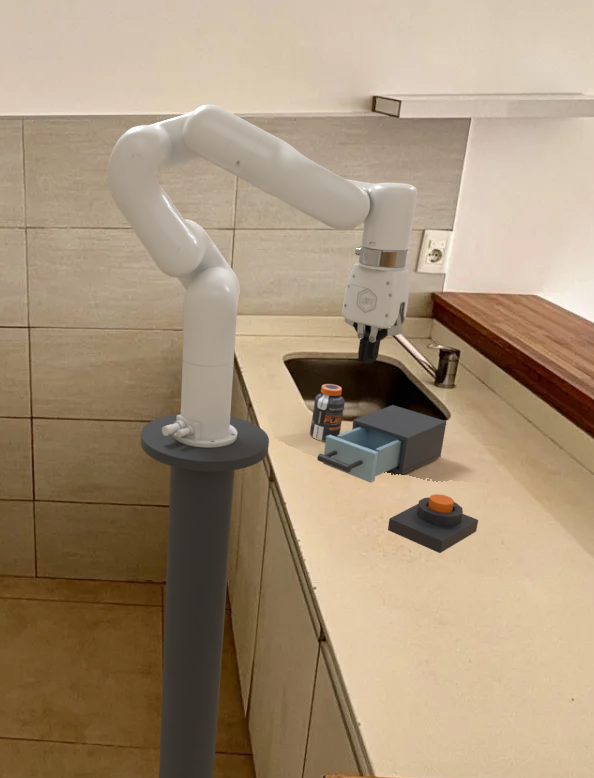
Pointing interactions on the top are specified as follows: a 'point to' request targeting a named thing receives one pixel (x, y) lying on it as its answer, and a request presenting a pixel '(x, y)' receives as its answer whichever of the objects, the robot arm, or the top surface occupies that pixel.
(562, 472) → the top surface
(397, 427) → the drawer cabinet
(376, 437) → the blue drawer
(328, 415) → the pill bottle
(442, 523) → the control block
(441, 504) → the button
